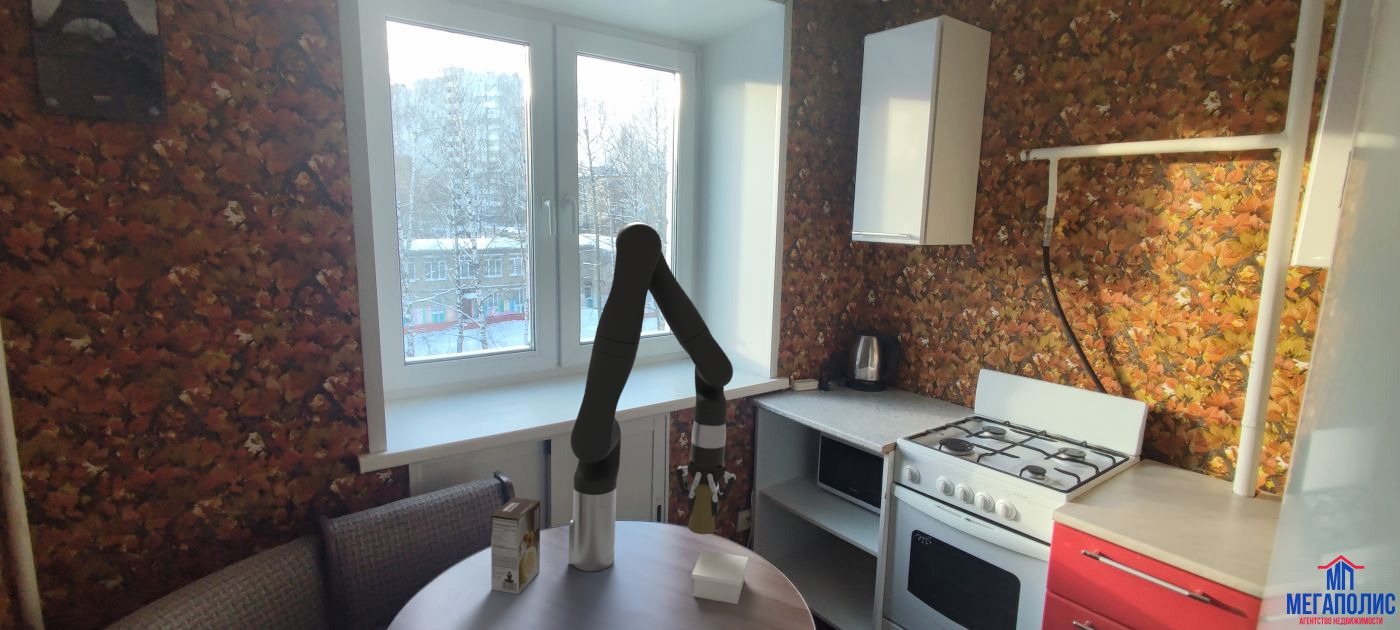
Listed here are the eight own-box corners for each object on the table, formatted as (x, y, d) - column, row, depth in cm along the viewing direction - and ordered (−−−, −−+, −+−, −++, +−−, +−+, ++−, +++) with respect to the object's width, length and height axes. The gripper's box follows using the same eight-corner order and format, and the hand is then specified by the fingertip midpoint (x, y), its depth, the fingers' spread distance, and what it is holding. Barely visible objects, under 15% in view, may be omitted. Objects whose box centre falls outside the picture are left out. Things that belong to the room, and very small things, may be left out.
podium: (690, 597, 123) (691, 574, 123) (701, 571, 133) (702, 550, 132) (739, 606, 121) (740, 582, 121) (746, 579, 131) (748, 557, 130)
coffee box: (512, 567, 131) (513, 495, 129) (540, 571, 130) (541, 499, 128) (490, 590, 122) (490, 514, 120) (519, 595, 121) (520, 518, 119)
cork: (695, 519, 142) (698, 474, 141) (719, 526, 139) (722, 480, 138) (683, 529, 137) (687, 482, 135) (708, 536, 134) (712, 489, 133)
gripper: (673, 441, 133) (668, 516, 135) (737, 450, 130) (731, 526, 133) (681, 431, 141) (676, 502, 143) (742, 440, 138) (736, 512, 140)
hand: (703, 513), depth 138 cm, fingers closed on cork, 4 cm apart
